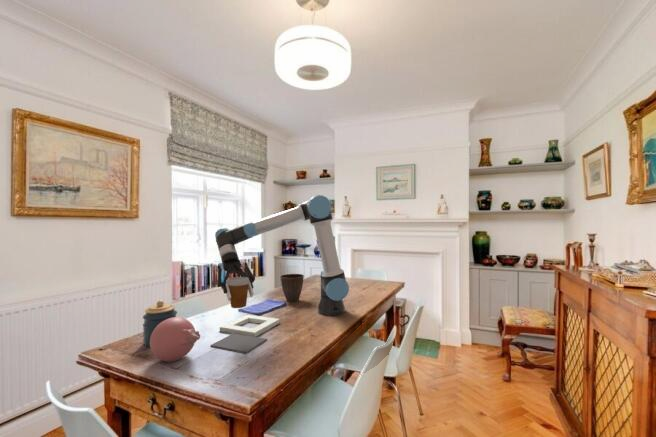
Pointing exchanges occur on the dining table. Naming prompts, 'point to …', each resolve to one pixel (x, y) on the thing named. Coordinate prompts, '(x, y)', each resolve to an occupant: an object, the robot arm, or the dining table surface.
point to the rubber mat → (239, 343)
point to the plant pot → (292, 286)
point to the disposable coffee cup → (238, 291)
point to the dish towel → (263, 307)
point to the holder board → (237, 329)
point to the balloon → (173, 339)
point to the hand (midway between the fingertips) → (241, 297)
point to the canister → (156, 318)
